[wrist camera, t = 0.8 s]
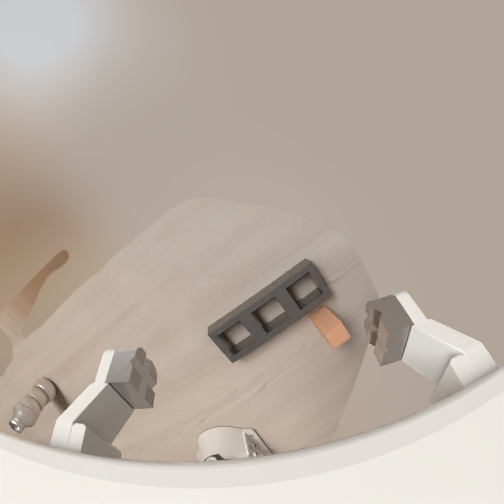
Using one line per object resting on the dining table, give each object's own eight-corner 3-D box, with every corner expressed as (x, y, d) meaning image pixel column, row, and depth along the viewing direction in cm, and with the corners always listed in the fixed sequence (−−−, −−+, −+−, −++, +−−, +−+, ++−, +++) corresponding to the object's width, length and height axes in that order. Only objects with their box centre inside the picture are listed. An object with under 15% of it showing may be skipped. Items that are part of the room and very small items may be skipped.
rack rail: (324, 289, 59) (331, 294, 55) (231, 353, 59) (232, 363, 55) (305, 258, 57) (310, 262, 53) (208, 326, 57) (207, 334, 53)
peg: (332, 318, 60) (351, 337, 50) (317, 329, 60) (334, 349, 50) (323, 305, 59) (342, 322, 49) (308, 316, 59) (324, 335, 50)
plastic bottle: (37, 372, 55) (0, 411, 35) (56, 379, 56) (21, 422, 36) (41, 390, 56) (8, 431, 36) (60, 397, 56) (29, 442, 37)
